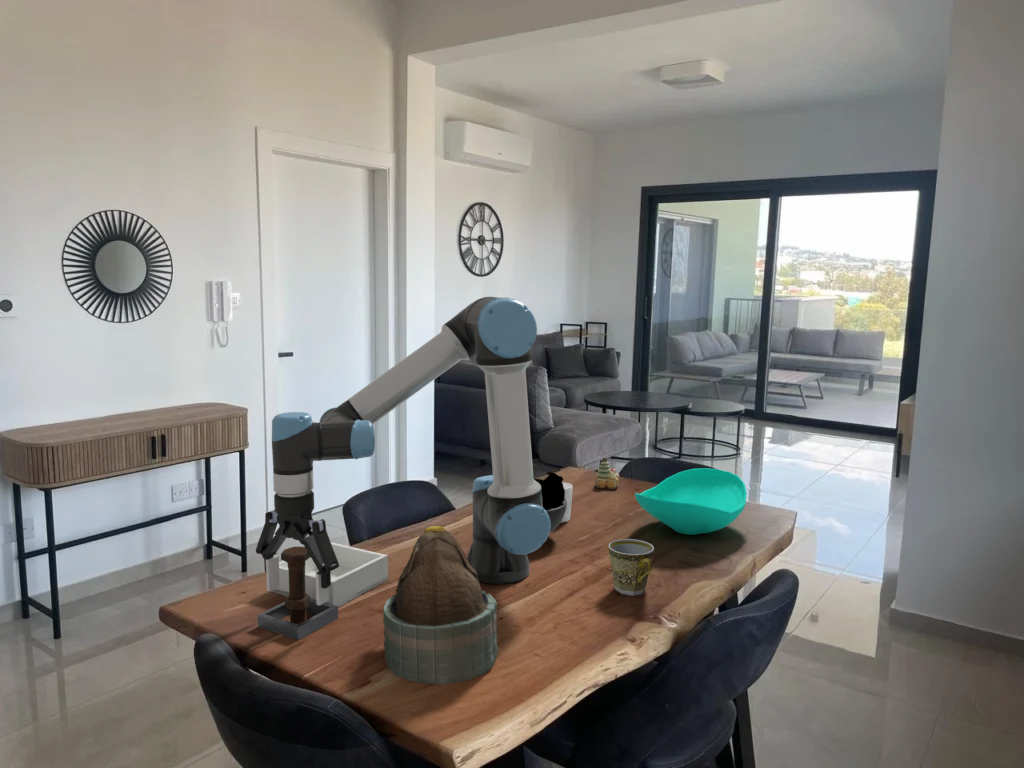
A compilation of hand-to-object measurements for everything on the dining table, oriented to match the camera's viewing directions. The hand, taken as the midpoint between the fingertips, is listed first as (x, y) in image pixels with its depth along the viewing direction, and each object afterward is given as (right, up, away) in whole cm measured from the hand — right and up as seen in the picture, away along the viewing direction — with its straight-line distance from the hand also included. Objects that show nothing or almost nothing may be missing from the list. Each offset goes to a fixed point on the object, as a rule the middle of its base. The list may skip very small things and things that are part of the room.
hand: (297, 595), depth 152 cm
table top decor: (+92, +2, +58) cm, 109 cm away
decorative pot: (+29, -8, -10) cm, 32 cm away
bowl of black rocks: (+47, +1, +52) cm, 70 cm away
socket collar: (0, -6, +1) cm, 6 cm away
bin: (+2, -3, +19) cm, 19 cm away
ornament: (+74, +8, +101) cm, 126 cm away
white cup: (+56, +3, +67) cm, 88 cm away
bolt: (0, -6, +1) cm, 6 cm away
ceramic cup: (+70, -4, +17) cm, 72 cm away
